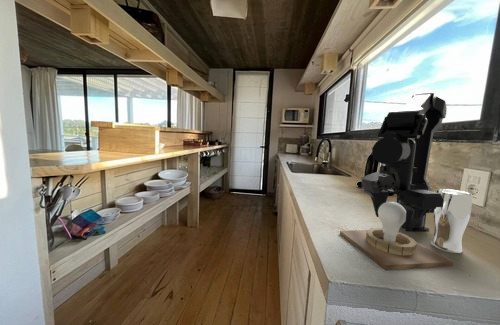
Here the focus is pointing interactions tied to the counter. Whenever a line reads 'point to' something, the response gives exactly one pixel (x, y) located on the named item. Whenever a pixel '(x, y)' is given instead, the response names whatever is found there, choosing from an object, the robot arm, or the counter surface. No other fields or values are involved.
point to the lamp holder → (394, 250)
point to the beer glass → (451, 220)
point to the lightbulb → (391, 219)
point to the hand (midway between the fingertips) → (391, 223)
